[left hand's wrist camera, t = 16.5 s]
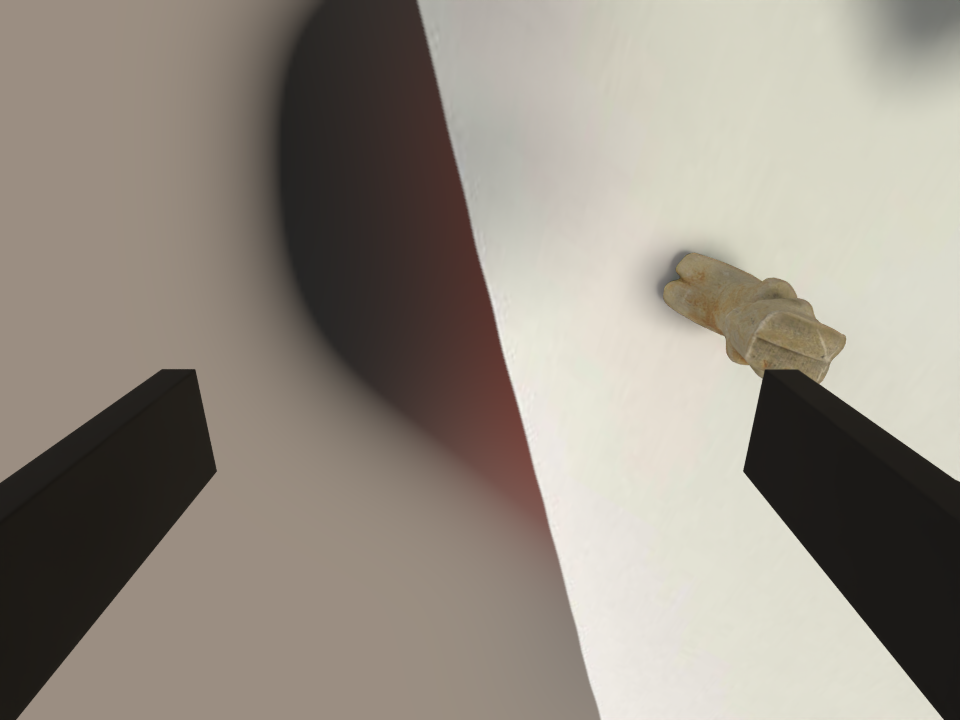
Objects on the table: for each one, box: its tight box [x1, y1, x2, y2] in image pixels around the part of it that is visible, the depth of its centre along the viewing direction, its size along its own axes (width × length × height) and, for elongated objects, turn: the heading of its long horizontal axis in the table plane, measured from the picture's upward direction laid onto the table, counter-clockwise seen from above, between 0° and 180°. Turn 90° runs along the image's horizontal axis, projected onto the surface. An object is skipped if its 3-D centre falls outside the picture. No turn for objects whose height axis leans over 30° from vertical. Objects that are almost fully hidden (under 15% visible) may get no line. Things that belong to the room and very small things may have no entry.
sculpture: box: [663, 253, 846, 384], centre depth 36 cm, size 6×7×15 cm
